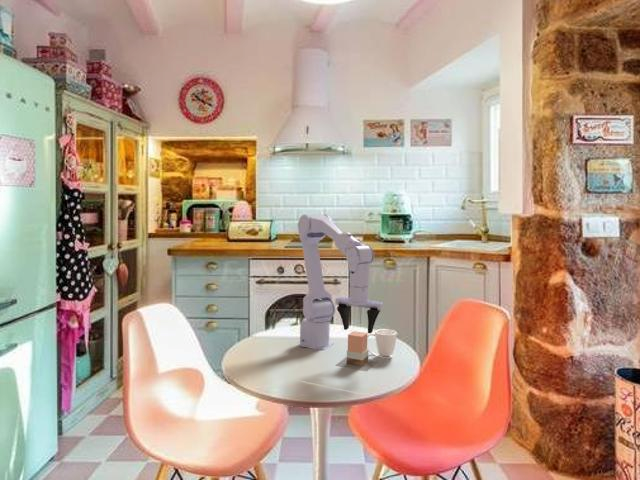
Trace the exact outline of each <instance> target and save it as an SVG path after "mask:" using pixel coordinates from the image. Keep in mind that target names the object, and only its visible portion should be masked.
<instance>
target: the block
mask: <svg viewBox="0 0 640 480" xmlns="http://www.w3.org/2000/svg"><path fill="white" fill-rule="evenodd" d="M368 335H369V333H368V332H364V331H355V330H353V331H351V332H350V333H348V334H347V350H348V351H350V352H356V353H363V352H364V351H366V350H367V347H368V338H367V336H368Z"/></svg>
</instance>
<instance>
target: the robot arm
mask: <svg viewBox="0 0 640 480" xmlns="http://www.w3.org/2000/svg"><path fill="white" fill-rule="evenodd" d="M297 229H298V236H299V241H301V246H302V247H301V248H302V253H303V259H304V265H305V266H304V268H305V272H306V279H307V284H308V285H307V287H308V293H307V294H306V295H305V296H304V297H303V298H302V303H303V305H302V306H303V307H302V313H303V316H304V318H303V319H302V320H301V322H300V327H299V328H300V330H299V335H300V336H299V344H298V346H299V347H303V348H309V349H315V350H319V351H325V350H327V349H329V348H330V347H331V346H333V345H334V344H335V343H334V342H332V341H330V327H331V325H330V324H331V320H332V317H334V316H335V313H336V311H338V313H339V316H340V319H341V322H342V326H343V330H345V331H347V330H348V329H349V327H350V314H351V313H350V312H351V307H356V308H364V309H368V310H366V313H367V333H368V334H373V333H374V332H373V330H374V327H375V324H376V320H377V319H378V316H379V314H380V312H381V311H382V310H384V302H383V301H382V302H380V301H376V300H373V299H372V300H371V299H369V298H370V297H369V295H370V265H371V264H372V263H373V261H374V259H375V252H374V249H373V248H372V246H371V245H370V244H364V243H363V244H362V243H361V241H360V240H357V239H356V238H355V237H354V236H353V235H352V233H351V232H349V231H348V232H343V231H342V230H341V229H339V228H338V227H337V225H336V224H334V222H333V218H332V217H330V216H329V215H328V214H302V215H301V216H300V218H299V220H298V222H297ZM326 236H327V237H328V238H330V239H332V240H333V241H334V246H335V247H336V248H337V249H338V250H339V251H340V252H341V253H342V254H343V255H344V256H345V258H346V261H347V264H348V265H347V266H348V271H349V297H341V296H340V297H339V296H338V297H335V301H334V300H333V297H332V296H333V295H332V294H331V292H329V291H327V290H326V288H325V283H324V282H325V281H324V275H323V270H322V264H321V257H320V256H321V255H320V251H319V245H318V244H319V243H320V241H322V240H323V239H324V238H325V237H326ZM336 306H337V308H336Z"/></svg>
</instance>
